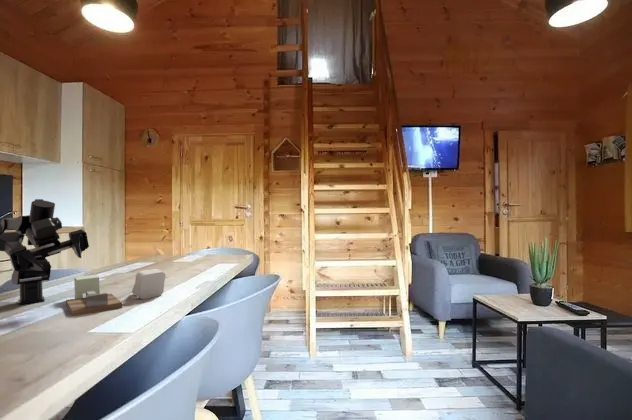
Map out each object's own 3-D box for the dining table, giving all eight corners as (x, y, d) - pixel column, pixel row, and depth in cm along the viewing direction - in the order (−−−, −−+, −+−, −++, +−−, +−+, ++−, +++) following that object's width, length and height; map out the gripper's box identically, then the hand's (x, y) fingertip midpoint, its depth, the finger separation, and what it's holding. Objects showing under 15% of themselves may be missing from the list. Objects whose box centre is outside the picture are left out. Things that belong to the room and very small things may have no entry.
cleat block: (74, 298, 119) (74, 277, 119) (96, 295, 123) (95, 274, 123) (77, 302, 114) (76, 279, 114) (99, 299, 118) (99, 277, 118)
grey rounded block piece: (145, 289, 128) (148, 262, 126) (162, 300, 122) (165, 271, 121) (122, 294, 121) (125, 265, 120) (138, 305, 115) (141, 275, 114)
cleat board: (66, 305, 111) (65, 290, 111) (111, 298, 118) (110, 284, 118) (72, 316, 98) (71, 299, 98) (122, 307, 106) (121, 292, 106)
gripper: (-5, 225, 100) (13, 251, 92) (72, 206, 114) (93, 227, 105) (6, 258, 106) (24, 285, 97) (78, 236, 119) (99, 259, 110)
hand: (62, 262), depth 102 cm, fingers open, 9 cm apart
